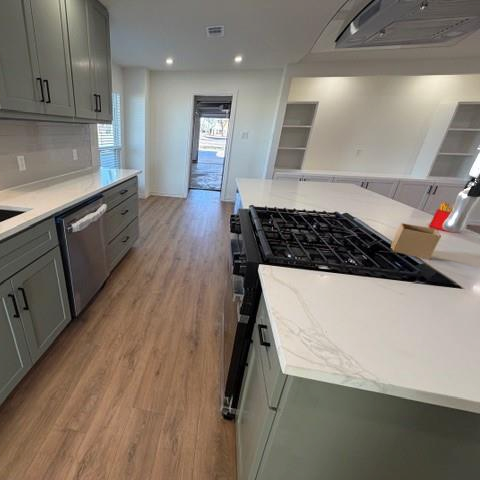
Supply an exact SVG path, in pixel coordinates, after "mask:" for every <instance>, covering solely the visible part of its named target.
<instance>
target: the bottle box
mask: <svg viewBox="0 0 480 480" xmlns="http://www.w3.org/2000/svg"><path fill="white" fill-rule="evenodd" d="M441 238H442V235H441V233H440V232H439V231H438V229H435V228H430V227H426V226H421V225H416V224H409V223H404V222H400V224H399V226H398V229H397V230H396V233H395V235H394V237H393V240H392V242H391V245H390V246H391V247H390V249H391V251H392V252H394V253H398V254H403V255H407V256H410V257H411V256H412V257H414V258H415V257H416V258H419V259H425V260H430V259H431V257H432V255H433V253H434V251H435V250H436V247H437V245H438V243H439V241H440V239H441Z"/></svg>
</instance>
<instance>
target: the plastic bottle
mask: <svg viewBox="0 0 480 480" xmlns="http://www.w3.org/2000/svg"><path fill="white" fill-rule="evenodd" d="M473 184H474V182H470V183H469V185H468V188H467V189H465V190H462V191H460V192H459V193H458V194H457V196H456V198H455V203H454V204H455V205H454V208H453V210H452V212H451V213H450V215H449V216H448V218H447V219H446V220H445V221H444V223H443V226H442V227H443V229H445V230H447V231H446V232H448V231H450V232H449V233H462V232H464V231H465V230H466V229H467V227H468V225H469V224H468V222H469V220H470V218H471V215H472V214H473V211H474V210H475V208H476V207H477V205H478V204H479V203H480V197H471V196H467V194H468V192H469V190H470V188H471V186H472V185H473Z"/></svg>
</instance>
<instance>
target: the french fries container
mask: <svg viewBox="0 0 480 480" xmlns="http://www.w3.org/2000/svg"><path fill="white" fill-rule="evenodd" d="M450 205H451V204H450V202H449V203H448V202H442V203H440V207H439V208H438V209H436V211H435V212H434V215H433V217H432V219H431V221H430V223H429V224H428V228H433V229H437V230H439V231H443V232H449V233H451V232H450V231H447V230H445V229H443V227H442V226H443V223H444V221H445V220H446V219H447V218H448V216H449V215H450V213H451V212H452V210H453V208H454V205H455V203H453V204H452V206H451V207H449V206H450Z"/></svg>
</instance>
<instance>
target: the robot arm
mask: <svg viewBox="0 0 480 480" xmlns="http://www.w3.org/2000/svg"><path fill="white" fill-rule="evenodd" d="M477 150H480V144H479V145H478V147H477ZM468 175H469V176H470V177H469V178H468V179H467V182H466V183H465V185H464V187H463V190H465V189H467V188H468V185H469V183H470V182H474V184H473V185H472V186H471V188H470V190H469V192H468V194H467V196H471V197H480V152H478V154H477V156H476V158H475V160H474V162H473V164H472V166H471V168H470V170H469V173H468ZM463 190H462V191H463Z"/></svg>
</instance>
